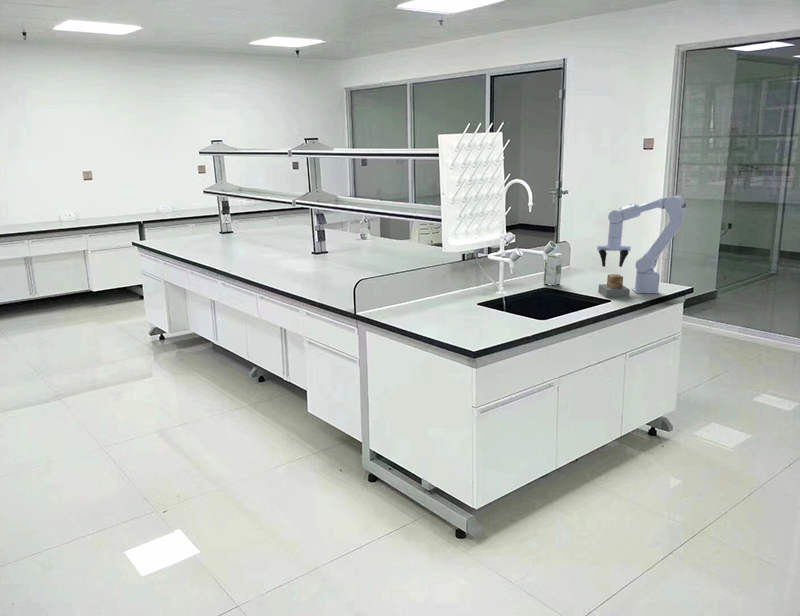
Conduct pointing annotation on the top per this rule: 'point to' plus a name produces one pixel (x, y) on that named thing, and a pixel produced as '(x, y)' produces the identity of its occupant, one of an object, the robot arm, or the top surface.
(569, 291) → the top surface
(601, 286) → the charcoal base block
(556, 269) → the syrup box
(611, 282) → the walnut cube
